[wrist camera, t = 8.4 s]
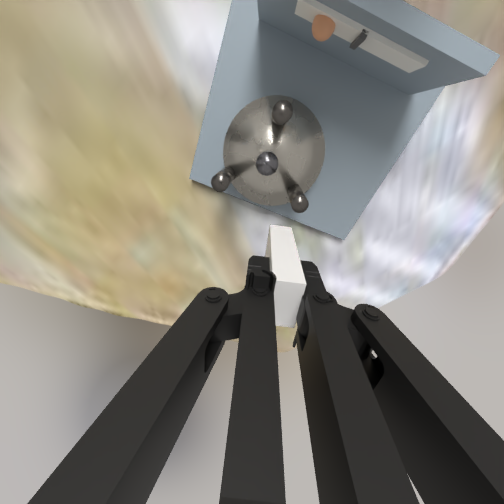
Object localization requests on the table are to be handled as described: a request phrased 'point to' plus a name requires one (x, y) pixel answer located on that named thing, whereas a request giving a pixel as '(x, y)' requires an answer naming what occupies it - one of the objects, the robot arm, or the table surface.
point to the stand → (336, 89)
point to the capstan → (272, 152)
